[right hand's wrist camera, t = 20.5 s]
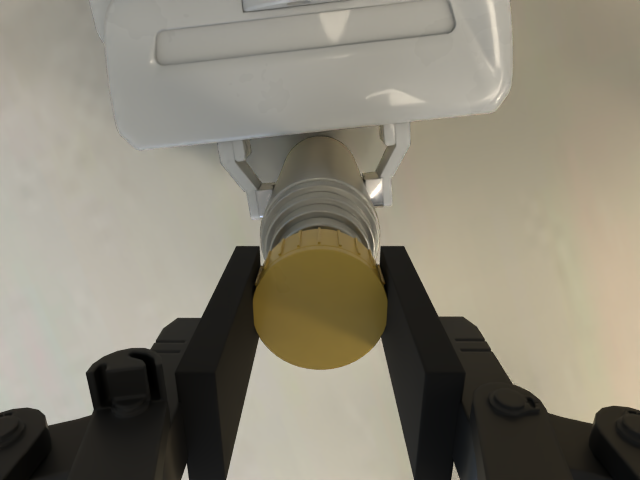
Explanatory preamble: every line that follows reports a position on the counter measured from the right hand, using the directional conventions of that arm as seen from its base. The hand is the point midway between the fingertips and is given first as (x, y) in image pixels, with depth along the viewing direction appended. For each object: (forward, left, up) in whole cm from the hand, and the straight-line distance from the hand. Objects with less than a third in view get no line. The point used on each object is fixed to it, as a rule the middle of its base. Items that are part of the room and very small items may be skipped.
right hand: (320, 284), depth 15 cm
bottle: (0, 0, -18) cm, 18 cm away
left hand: (-1, +1, -12) cm, 12 cm away
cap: (0, 0, +2) cm, 2 cm away
